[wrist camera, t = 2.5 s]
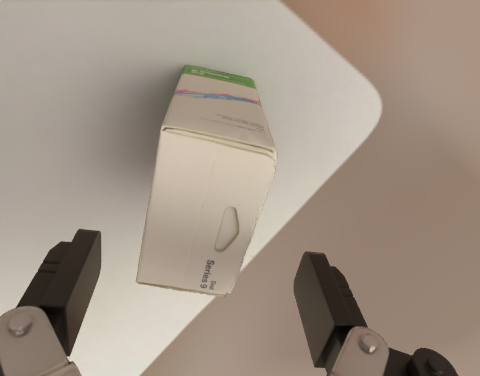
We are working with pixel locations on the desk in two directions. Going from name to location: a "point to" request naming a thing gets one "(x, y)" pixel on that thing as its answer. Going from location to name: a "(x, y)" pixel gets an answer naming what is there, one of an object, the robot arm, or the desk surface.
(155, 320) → the desk surface
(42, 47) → the desk surface
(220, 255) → the ink box
